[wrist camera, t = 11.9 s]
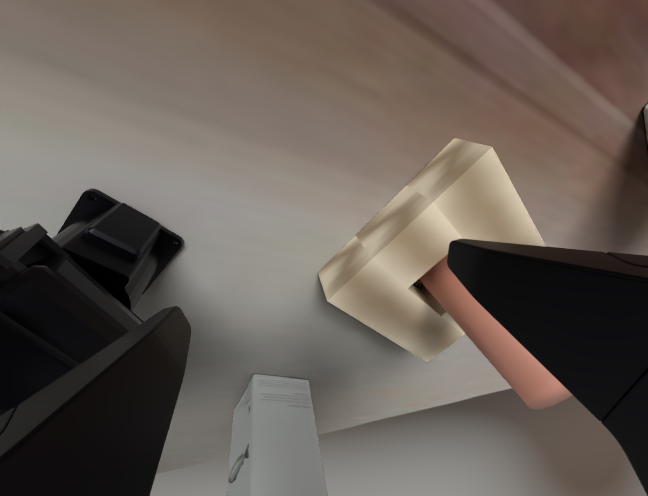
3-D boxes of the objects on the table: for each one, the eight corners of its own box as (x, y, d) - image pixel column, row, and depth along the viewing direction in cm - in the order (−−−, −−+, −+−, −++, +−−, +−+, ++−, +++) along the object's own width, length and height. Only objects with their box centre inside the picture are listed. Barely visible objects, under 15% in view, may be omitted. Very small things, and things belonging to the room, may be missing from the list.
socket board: (409, 334, 32) (427, 362, 29) (317, 272, 25) (327, 301, 21) (521, 244, 29) (556, 265, 25) (454, 138, 21) (492, 146, 17)
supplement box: (252, 371, 30) (249, 527, 19) (310, 378, 33) (335, 516, 22) (231, 409, 32) (218, 564, 22) (286, 413, 35) (298, 550, 25)
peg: (414, 279, 28) (529, 417, 16) (403, 253, 26) (525, 389, 14) (448, 261, 27) (591, 387, 16) (439, 233, 25) (596, 354, 14)
